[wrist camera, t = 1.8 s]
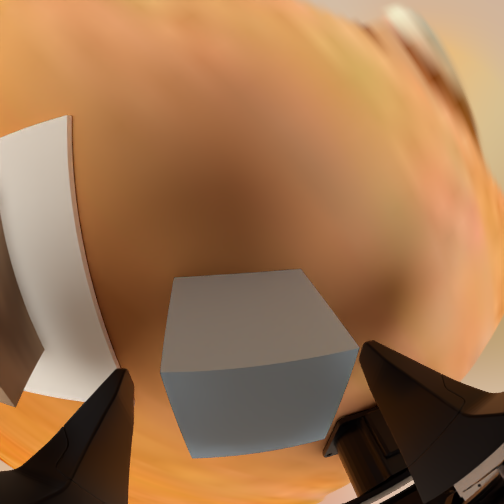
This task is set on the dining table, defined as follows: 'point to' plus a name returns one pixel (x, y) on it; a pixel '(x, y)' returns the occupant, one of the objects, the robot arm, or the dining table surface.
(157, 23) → the dining table surface
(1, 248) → the walnut base
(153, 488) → the dining table surface
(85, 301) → the felt mat
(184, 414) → the gray cube
